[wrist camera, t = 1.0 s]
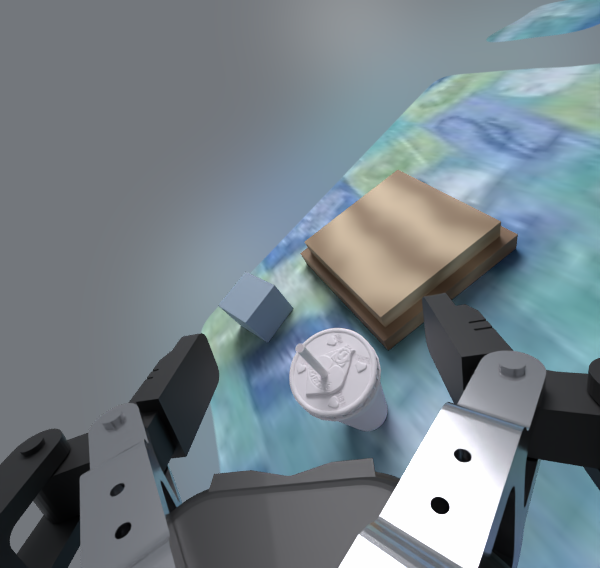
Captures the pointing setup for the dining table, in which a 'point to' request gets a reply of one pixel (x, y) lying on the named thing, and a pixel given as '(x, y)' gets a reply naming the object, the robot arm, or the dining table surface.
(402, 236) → the plinth
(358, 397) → the smoothie
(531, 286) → the dining table surface
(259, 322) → the slate cube
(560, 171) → the dining table surface
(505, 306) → the dining table surface
